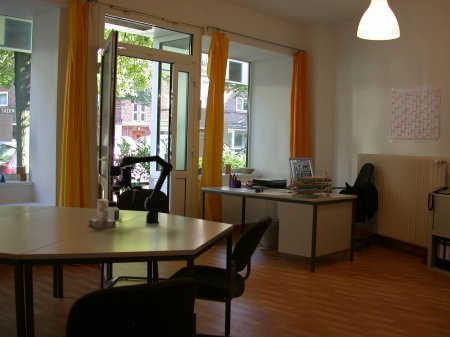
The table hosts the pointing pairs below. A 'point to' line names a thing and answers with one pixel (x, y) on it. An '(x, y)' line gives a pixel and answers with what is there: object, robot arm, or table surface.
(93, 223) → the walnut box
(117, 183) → the robot arm
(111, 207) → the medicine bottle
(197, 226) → the table surface
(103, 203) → the birch block
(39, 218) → the table surface
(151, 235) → the table surface
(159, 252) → the table surface
